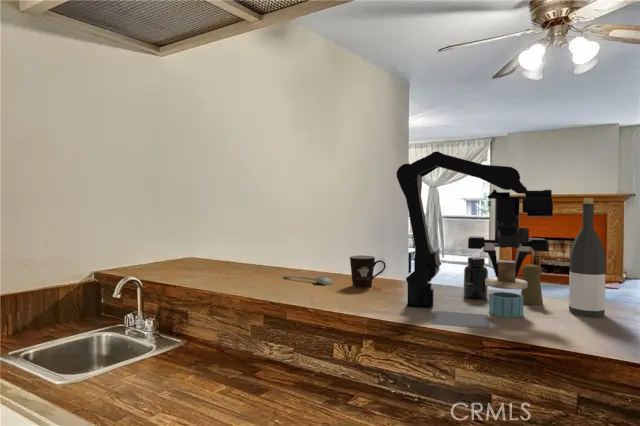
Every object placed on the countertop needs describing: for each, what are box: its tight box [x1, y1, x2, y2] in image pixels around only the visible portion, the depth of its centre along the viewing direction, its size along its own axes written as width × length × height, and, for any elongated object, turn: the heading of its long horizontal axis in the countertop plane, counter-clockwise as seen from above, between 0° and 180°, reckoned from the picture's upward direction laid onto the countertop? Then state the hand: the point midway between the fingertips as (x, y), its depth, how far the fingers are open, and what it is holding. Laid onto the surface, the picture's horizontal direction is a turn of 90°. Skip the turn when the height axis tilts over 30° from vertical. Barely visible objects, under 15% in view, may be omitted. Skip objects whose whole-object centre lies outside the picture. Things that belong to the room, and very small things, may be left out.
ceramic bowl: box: [488, 291, 525, 318], centre depth 114 cm, size 8×8×5 cm
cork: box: [520, 263, 544, 306], centre depth 126 cm, size 6×6×11 cm
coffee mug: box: [349, 254, 386, 288], centre depth 150 cm, size 12×9×10 cm
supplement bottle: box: [463, 256, 489, 300], centre depth 134 cm, size 7×7×12 cm
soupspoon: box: [282, 274, 335, 286], centre depth 160 cm, size 22×3×7 cm
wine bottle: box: [568, 197, 607, 318], centre depth 115 cm, size 8×8×30 cm
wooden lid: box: [485, 259, 528, 290], centre depth 113 cm, size 10×10×6 cm
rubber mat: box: [430, 310, 491, 330], centre depth 108 cm, size 13×13×1 cm
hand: (506, 277), depth 113 cm, fingers closed on wooden lid, 4 cm apart
